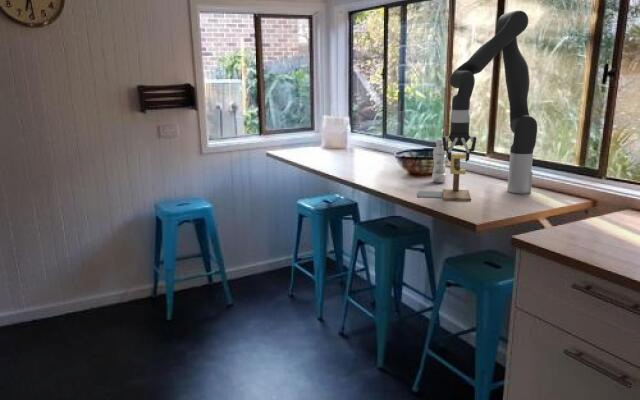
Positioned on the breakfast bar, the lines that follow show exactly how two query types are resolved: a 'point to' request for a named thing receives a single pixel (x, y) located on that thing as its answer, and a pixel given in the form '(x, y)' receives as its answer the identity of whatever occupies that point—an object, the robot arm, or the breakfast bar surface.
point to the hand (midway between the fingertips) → (458, 161)
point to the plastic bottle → (439, 163)
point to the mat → (429, 194)
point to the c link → (453, 156)
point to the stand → (456, 188)
